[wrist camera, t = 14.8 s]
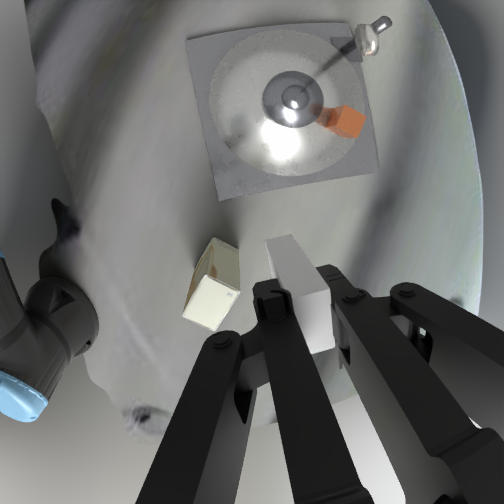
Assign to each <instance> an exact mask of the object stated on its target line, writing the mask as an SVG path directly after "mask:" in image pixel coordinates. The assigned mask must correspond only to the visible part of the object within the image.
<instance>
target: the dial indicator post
mask: <svg viewBox="0 0 504 504" xmlns="http://www.w3.org/2000/svg"><path fill="white" fill-rule="evenodd" d="M390 26H392V21H391V19H390V18H389V17H387V16H382V17H380V18H379V19H378V20H376V21H375V22H374V23H372V24H358V25H357V27H356V29H355V37H330V38H331V41H332V45H333V47H335V48H336V49H337V50H338V51H339V52H340V53H342V54H343V55H344V57H345V58H346V59H347V60H348V61H349V62H360V63H361V62H363V60H362V56H361V54H362V55H363V56H375V55H376V54H377V52H378V50H379V36H378V34H379V33H381V32H382V31H384V30H386V29H387V28H389V27H390Z"/></svg>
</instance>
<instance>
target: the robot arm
mask: <svg viewBox="0 0 504 504" xmlns="http://www.w3.org/2000/svg"><path fill="white" fill-rule="evenodd" d="M265 245H266V250H267V254H268V259H269V264H270V269H271V274H272V278H273V279H270V280H266V281H262V282H257V283H255V285H254V287H253V289H252V290H253V295H254V300H253V304H254V308H255V312H256V316H257V320H258V323H257V325H256V326H255V327H254V328H253V329H252V330H251V331H249V332H247V333H246V334H243V335H241V336H240V335H239V334H238V333H237V332H235V331H228V330H225V331H220V332H217V333H215V334H212V335H211V336H210V337H208V338H207V339H206V341H205V342H204V344H203V346H202V348H201V351H200V353H199V355H198V358H197V360H196V362H195V365H194V367H193V369H192V371H191V374H190V376H189V378H188V381H187V383H186V385H185V388H184V390H183V392H182V395H181V397H180V399H179V402H178V404H177V406H176V409H175V411H174V413H173V416H172V418H171V420H170V423H169V425H168V427H167V430H166V432H165V434H164V437H163V439H162V441H161V444H160V446H159V448H158V451H157V453H156V455H155V458H154V461H153V463H152V465H151V468H150V470H149V473H148V474H147V477H146V479H145V482H144V484H143V487H142V489H141V491H140V493H139V496H138V498H137V501H136V503H135V504H234V503H235V498H236V493H237V489H238V485H239V480H240V475H241V471H242V466H243V461H244V456H245V451H246V446H247V441H248V436H249V431H250V426H251V421H252V416H253V411H254V406H255V400H256V395H257V388H258V387H260V386H262V385H264V384H266V383H268V382H270V385H271V390H272V395H273V400H274V405H275V410H276V415H277V420H278V425H279V430H280V435H281V440H282V445H283V450H284V455H285V460H286V464H287V469H288V473H289V479H290V483H291V488H292V493H293V498H294V503H295V504H374V501H373V499H372V497H371V495H370V493H369V491H368V490H367V489H366V488H364V487H363V486H362V484H361V482H360V480H359V477H358V474H357V472H356V469H355V466H354V464H353V461H352V458H351V456H350V453H349V450H348V448H347V445H346V442H345V440H344V437H343V435H342V432H341V429H340V427H339V424H338V422H337V419H336V417H335V414H334V411H333V409H332V406H331V404H330V401H329V398H328V396H327V393H326V391H325V388H324V386H323V383H322V381H321V378H320V375H319V373H318V370H317V368H316V365H315V363H314V360H313V358H312V355H311V354H313V353H317V352H320V351H324V350H328V349H331V348H334V347H335V341H334V338H335V339H336V341H337V343H338V353H339V367H340V369H341V368H342V363H343V364H344V366H345V368H346V370H347V372H348V374H349V376H350V378H351V380H352V382H353V384H354V386H355V388H356V390H357V392H358V394H359V396H360V399H361V401H362V403H363V405H364V407H365V409H366V411H367V413H368V415H369V417H370V419H371V421H372V424H373V425H374V427H375V430H376V432H377V434H378V436H379V438H380V440H381V442H382V445H383V447H384V449H385V451H386V453H387V456H388V457H389V460H390V462H391V464H392V466H393V469H394V471H395V473H396V475H397V477H398V480H399V482H400V484H401V486H402V489H403V491H404V494H405V498H406V504H504V332H503V331H502V330H500V329H498V328H496V327H495V326H493V325H491V324H490V323H488V322H486V321H484V320H483V319H481V318H479V317H477V316H476V315H474V314H472V313H470V312H468V311H466V310H465V309H463V308H461V307H459V306H457V305H456V304H454V303H452V302H450V301H448V300H446V299H444V298H442V297H441V296H439V295H437V294H435V293H433V292H431V291H429V290H427V289H425V288H424V287H422V286H420V285H417V284H415V283H409V282H404V283H400V284H397V285H395V286H393V287H392V288H391V290H390V296H388V297H375V298H373V297H372V296H371V295H370V294H369V293H368V292H367V291H365V290H363V289H359V288H354V287H353V285H352V284H351V283H350V282H349V281H348V280H347V278H346V277H345V276H344V275H343V274H342V273H341V271H340V270H339V269H338V268H337V267H335V266H332V265H330V264H328V265H324V266H320V267H316V268H315V267H314V265H313V264H312V262H311V261H310V260H309V258H308V257H307V255H306V254H305V253H304V251H303V250H302V248H301V247H300V246H299V244H298V243H297V241H296V240H295V239H294V237H293V236H292V235H291V234H290V235H285V236H281V237H277V238H272V239H268V240H265ZM4 258H5V256H4V254H2V252H1V249H0V412H2V413H3V414H5V415H7V416H9V417H11V418H13V419H15V420H18V421H22V422H32V421H34V420H36V419H37V418H38V417H39V415H40V413H41V412H42V410H43V409H44V407H46V406H47V405H48V401H49V399H50V397H51V395H52V393H53V391H54V390H55V388H56V386H57V384H58V382H59V380H60V379H61V377H62V375H63V373H64V371H65V370H66V368H67V366H68V365H69V363H70V362H71V361H72V360H74V359H75V358H77V357H79V356H80V355H82V354H83V353H85V352H86V351H87V350H88V349H89V348H90V347H91V346H92V344H93V343H94V341H95V339H96V337H97V335H98V330H99V324H98V318H97V315H96V312H95V310H94V308H93V306H92V304H91V302H90V301H89V299H88V298H87V297H86V295H85V294H84V293H83V292H82V291H81V290H80V289H79V288H78V287H76V286H75V285H74V284H72V283H71V282H69V281H67V280H65V279H63V278H60V277H55V276H48V277H44V278H42V279H40V280H39V281H38V282H36V283H35V284H34V285H33V286H32V287H31V288H30V290H29V291H28V294H27V296H26V298H25V301H24V303H23V304H22V302H21V300H20V297H19V295H18V293H17V291H16V288H15V285H14V283H13V281H12V278H11V276H10V273H9V270H8V268H7V265H6V262H5V259H4ZM420 327H421V328H423V329H424V330H426V335H425V336H424V335H422V334H420ZM469 417H470V418H471V419H472V420H473V421H474V422H476V423H477V424H478V425H479V426H480V427H482V428H481V429H479V428H477V427H476V426H475V425H474V424H473V423H472V422H471V420H470V419H469Z"/></svg>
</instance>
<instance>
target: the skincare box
mask: <svg viewBox="0 0 504 504" xmlns="http://www.w3.org/2000/svg"><path fill="white" fill-rule="evenodd" d="M239 294H240V270H239V250H238V249H236V248H234V247H232V246H231V245H229V244H227V243H225V242H223V241H221V240H219V239H217V238H215V237H213V238H212V239H211V241H210V242H209V244H208V246H207V247H206V249H205V251H204V253H203V254H202V256H201V258H200V260H199V262H198V264H197V266H196V268H195V270H194V273H193V277H192V281H191V284H190V288H189V292H188V295H187V299H186V303H185V307H184V311H183V314H182V316H183V317H185V318H187V319H189V320H191V321H193V322H195V323H197V324H199V325H201V326H203V327H205V328H207V329H209V330H211V331H215V330H216V329H217V328H218V326H219V325H220V323H221V322H222V320H223V318H224V317H225V316H226V314H227V313H228V311H229V309H230V308H231V306H232V305H233V303H234V301H235V300H236V298H237V297H238V295H239Z"/></svg>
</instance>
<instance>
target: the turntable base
mask: <svg viewBox="0 0 504 504" xmlns="http://www.w3.org/2000/svg"><path fill="white" fill-rule="evenodd" d="M278 29H288V30H296V31H302V32H305V33H309V34H312V35H314V36H316V37H319V38H321V39H323V40H324V41H326V42H328V43H329V44H331V45H332V41H331V38H330V37H353V36H352V33H351V29H350V26H349V23H300V24H285V25H273V26H264V27H256V28H248V29H241V30H235V31H229V32H224V33H218V34H213V35H209V36H204V37H199V38H195V39H191V40H187V41H185V44H186V49H187V54H188V59H189V64H190V69H191V74H192V79H193V84H194V89H195V93H196V98H197V103H198V108H199V113H200V117H201V122H202V127H203V131H204V136H205V141H206V145H207V150H208V154H209V159H210V163H211V168H212V172H213V177H214V181H215V186H216V190H217V195H218V199H219V201H222V200H227V199H232V198H236V197H241V196H246V195H251V194H256V193H260V192H266V191H271V190H276V189H281V188H286V187H292V186H297V185H303V184H308V183H314V182H320V181H326V180H332V179H338V178H344V177H351V176H357V175H364V174H371V173H378V172H379V168H378V160H377V152H376V145H375V138H374V132H373V125H372V120H371V114H370V108H369V103H368V98H367V93H366V88H365V84H364V79H363V75H362V71H361V66H360V62H349V63H350V64H351V66H352V67H353V69H354V70H355V72H356V74H357V76H358V78H359V80H360V83H361V86H362V90H363V95H364V105H365V109H364V116H366V120H365V122H364V124H363V127H362V129H361V131H360V134H359V136H358V138H357V139H356V141H355V143H354V144H353V145H352V147H351V148H350V150H349V151H348V152H347V153H346V154H345V155H344V156H343V157H342V158H341V159H339V160H338V161H337V162H336V163H334V164H333V165H331V166H329V167H328V168H325V169H323V170H321V171H318V172H315V173H312V174H307V175H301V176H283V175H276V174H272V173H268V172H265V171H262V170H259V169H257V168H255V167H253V166H251V165H249V164H248V163H246V162H245V161H243V160H242V159H240V158H239V157H238V156H237V155H236V154H234V153H233V152H232V151H231V150H230V148H229V147H228V146H227V145H226V144H225V142H224V141H223V140H222V138H221V137H220V135H219V133H218V131H217V129H216V127H215V125H214V122H213V119H212V116H211V111H210V101H209V94H210V86H211V82H212V78H213V75H214V73H215V70H216V68H217V66H218V65H219V63H220V61H221V60H222V58H223V57H224V56H225V55H226V53H227V52H228V51H229V50H230V49H232V48H233V47H234V46H235V45H236V44H238V43H239V42H241V41H242V40H244V39H246V38H248V37H250V36H252V35H254V34H257V33H260V32H264V31H269V30H278ZM332 46H333V45H332Z"/></svg>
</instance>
